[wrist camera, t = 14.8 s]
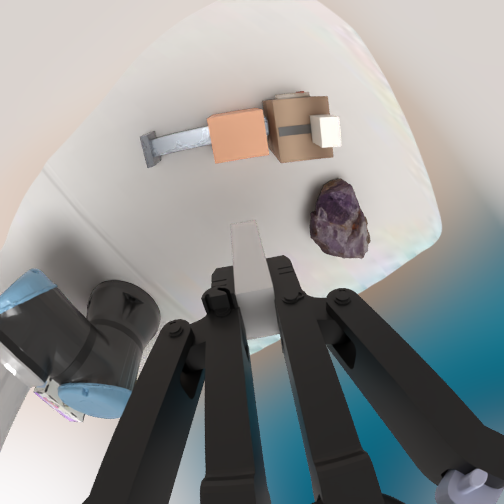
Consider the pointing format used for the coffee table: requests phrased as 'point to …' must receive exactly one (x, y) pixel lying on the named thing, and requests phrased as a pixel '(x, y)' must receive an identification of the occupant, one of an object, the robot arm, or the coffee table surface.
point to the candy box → (57, 400)
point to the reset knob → (325, 130)
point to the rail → (176, 142)
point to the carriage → (238, 135)
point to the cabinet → (295, 126)
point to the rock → (339, 222)
